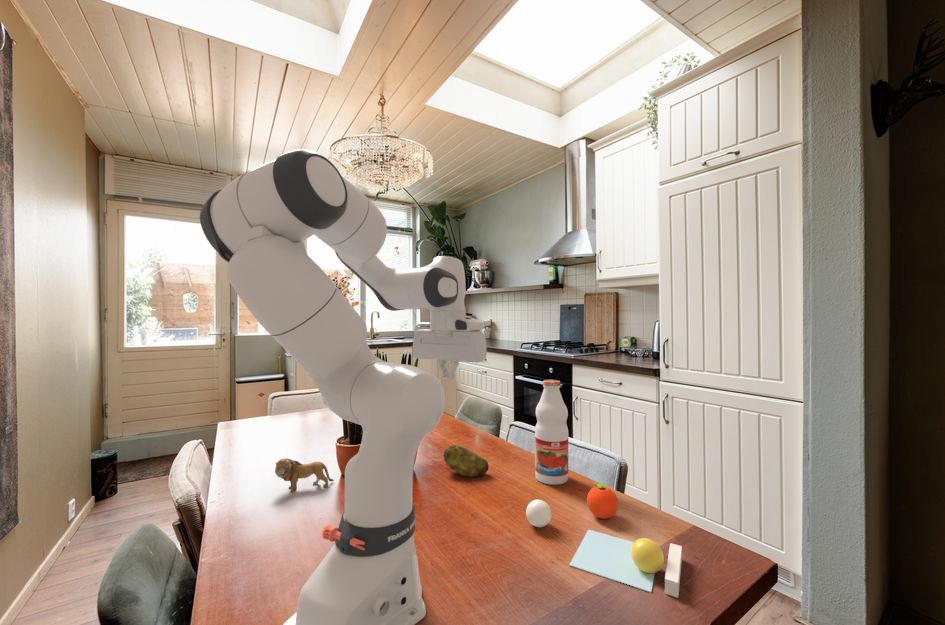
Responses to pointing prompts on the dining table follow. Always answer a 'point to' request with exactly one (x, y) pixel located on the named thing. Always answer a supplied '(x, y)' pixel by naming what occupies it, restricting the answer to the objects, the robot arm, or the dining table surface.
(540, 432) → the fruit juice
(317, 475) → the lion figurine
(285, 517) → the dining table surface
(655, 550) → the yellow ball
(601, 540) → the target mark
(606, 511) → the clementine
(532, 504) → the cue ball
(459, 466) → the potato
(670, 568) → the rail
